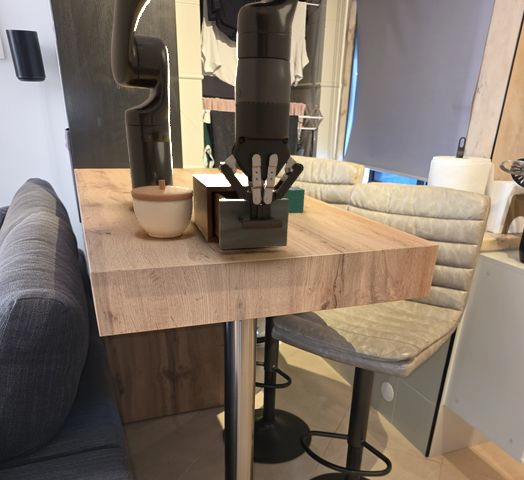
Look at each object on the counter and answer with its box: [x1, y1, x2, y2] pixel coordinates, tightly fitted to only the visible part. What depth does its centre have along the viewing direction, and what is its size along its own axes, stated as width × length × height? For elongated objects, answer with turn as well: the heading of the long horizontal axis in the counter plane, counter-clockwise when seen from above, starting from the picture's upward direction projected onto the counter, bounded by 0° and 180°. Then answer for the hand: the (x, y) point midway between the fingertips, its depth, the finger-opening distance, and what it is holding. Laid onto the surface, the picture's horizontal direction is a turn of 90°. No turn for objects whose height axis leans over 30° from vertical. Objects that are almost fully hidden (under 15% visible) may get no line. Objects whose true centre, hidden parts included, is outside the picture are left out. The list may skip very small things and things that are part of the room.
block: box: [283, 186, 306, 214], centre depth 106 cm, size 5×5×5 cm
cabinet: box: [192, 173, 276, 243], centre depth 86 cm, size 16×12×9 cm
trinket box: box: [130, 180, 194, 239], centre depth 81 cm, size 11×11×9 cm
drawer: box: [212, 191, 289, 250], centre depth 76 cm, size 20×11×7 cm, turn 16°
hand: (259, 228), depth 70 cm, fingers closed
